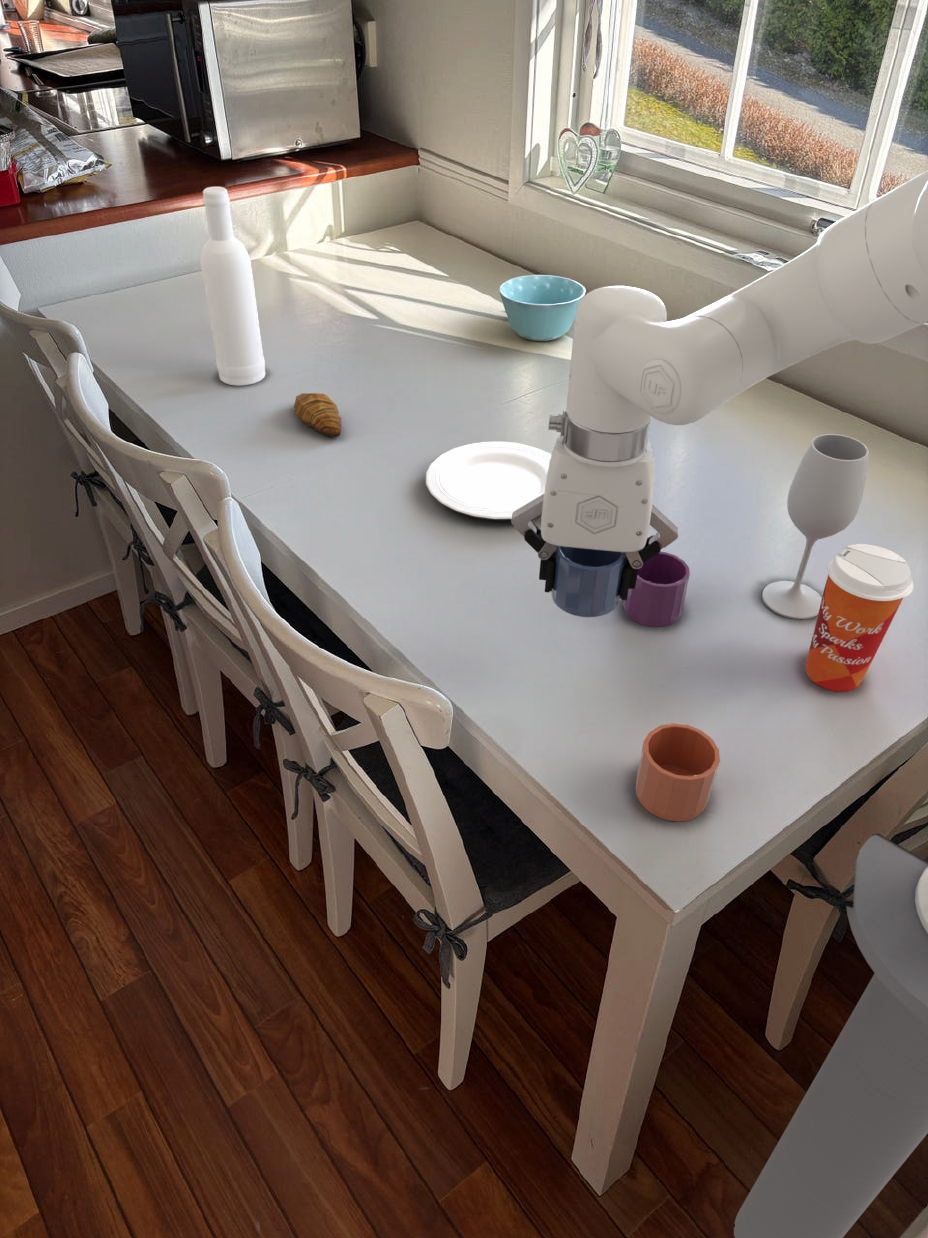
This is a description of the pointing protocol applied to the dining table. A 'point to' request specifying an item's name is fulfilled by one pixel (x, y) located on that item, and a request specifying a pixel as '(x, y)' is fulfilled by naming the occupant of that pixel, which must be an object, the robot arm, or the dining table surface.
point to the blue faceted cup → (587, 580)
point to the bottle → (230, 296)
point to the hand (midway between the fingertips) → (586, 587)
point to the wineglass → (820, 512)
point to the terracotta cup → (676, 771)
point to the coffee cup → (855, 614)
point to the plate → (488, 478)
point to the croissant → (318, 413)
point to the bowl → (541, 305)
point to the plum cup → (658, 591)
